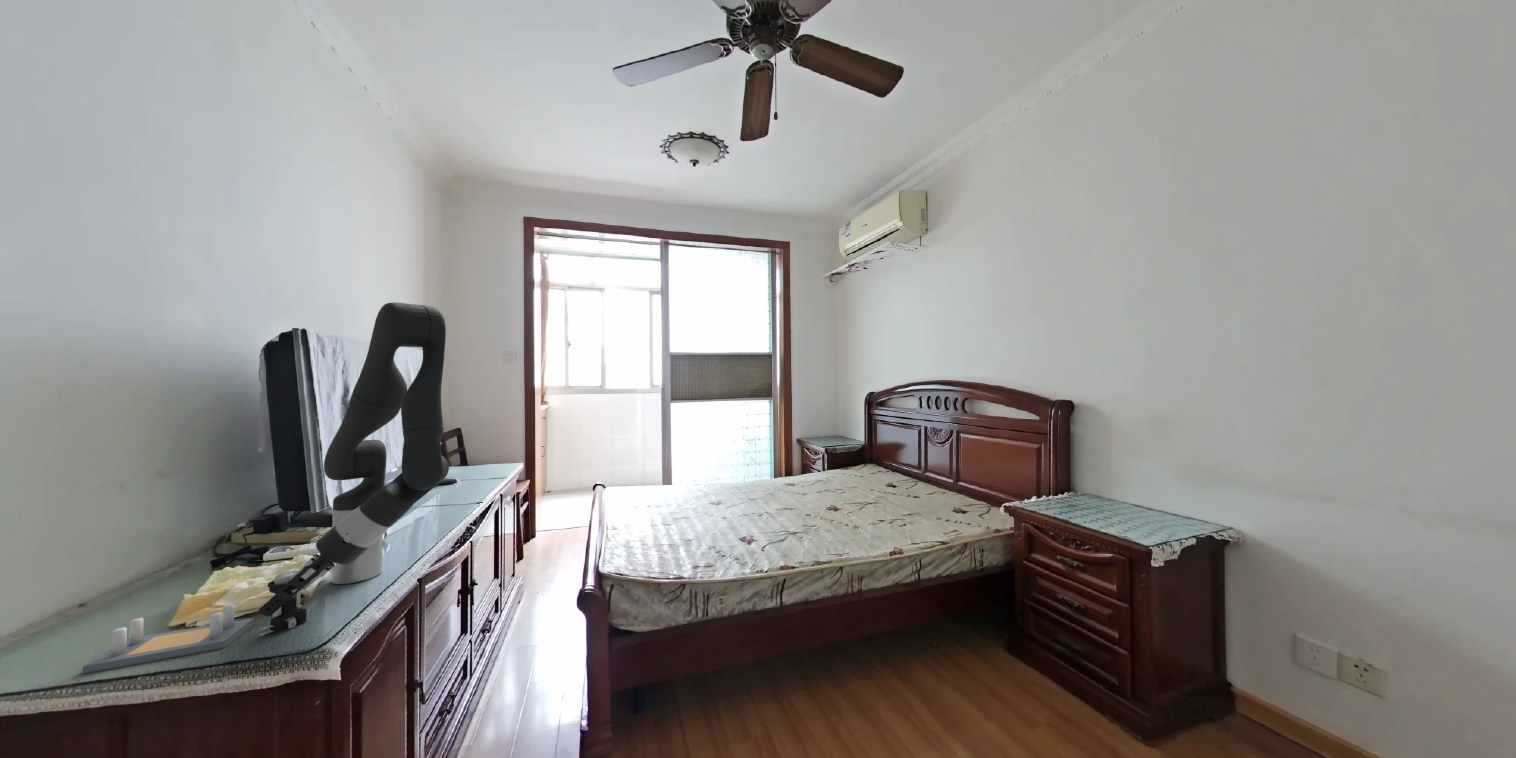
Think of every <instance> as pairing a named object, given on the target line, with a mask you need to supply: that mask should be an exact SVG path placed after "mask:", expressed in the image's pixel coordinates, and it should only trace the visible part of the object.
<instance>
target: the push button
mask: <svg viewBox="0 0 1516 758" xmlns="http://www.w3.org/2000/svg"><path fill="white" fill-rule="evenodd" d="M297 571H298V570H295V571H287V572H284V573H280V574H277V575H276V576H274V579H273V580H271V581H269V582H268V583H267V587H268V589H269V593H271V594H274V596H275V595H276V594H275V593H276V591H277V590H278V589H280V588H282V587H283V586H284V585H285V584H287V583H288V582H289V579H290V578H291V576H293V575H294V574H295V573H296V572H297ZM287 589H289V590H290V591H292V592H295V591H296V590H297V588H296V587H295V586H293V585H289V586H288V587H287ZM301 591H302V590H300V591H299V592H298V593H297V594H296V595H295V597H294V598H292V599H291V600H289V601H287V602H286V603H285V604H284V605H283V606H281V607H280V608H279V609H278V610H277V611H276V612H275V613H273V614H272V616H270V618H268V620H267V622H268V623H267V624H268V625H267V626H265V627H262V628H260V629H258V631H265V630H266V629H267V630H266V631H265V632H261V633H260V634H258V636H264V635H267V634H268V633H269V634H270V633H271V634H278V633H281V632H283V631H285V630H288V629H292V628H294V627H297V626H298V625H303V624H305V623H307V612H308V611H307V608H304V607H303V608H302V606H303V605H302V604H301Z"/></svg>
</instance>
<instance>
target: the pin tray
mask: <svg viewBox="0 0 1516 758" xmlns="http://www.w3.org/2000/svg"><path fill="white" fill-rule="evenodd" d="M235 605H236V604H235V603H230V604H226V605H224V606H222V611H221V612H220V611H219V612H214V613H213V614H210V618H209V619H210V620H209V625H205V626H204V625H203V626H199V627H191V628H187V629H186V628H185V629H180V630H179V629H177V630H173V631H167V632H162V633H155V634H148V635H144V621H145V620H144V617H139V618H134V619H132V620H130V621H129V638H128V639H127V634H128V633H127V631H128V627H125V626H124V627H119V628H116V629H113V630H112V631H111V633H112V634H111V648H110V649H109V650H107V651H105V652H104V653H103V654H101V655H99V656H97V657H95V658H94V659H93V660H91V661H89V662H87V663H85V664H84V665H83V666H82V674H89V673H94V672H99V671H105V670H111V669H115V668H116V669H117V668H121V667H126V666H133V665H136V664H137V665H138V664H144V663H149V662H154V661H160V660H164V659H165V660H166V659H172V658H176V657H177V658H178V657H181V656H187V655H192V654H193V655H194V654H198V653H199V654H200V653H203V652H204V653H205V652H209V651H215V650H220V649H224V648H226V647H228V646H229V645H230V644H232V642H233V641H235V640H236V639H237V638H239V636H241V635H242V634H243V633H245V632H246V631H247V630H249V629H250V628H251V627H252V626H253V625H254V617H251V618H246V619H240V620H235V607H236V606H235Z"/></svg>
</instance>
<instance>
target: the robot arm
mask: <svg viewBox="0 0 1516 758" xmlns="http://www.w3.org/2000/svg"><path fill="white" fill-rule="evenodd" d="M446 334H447V327H446V319H445V316H444V314H443V312H442V311H441V310H440V309H439V307H436V306H432V305H424V304H415V303H406V302H405V303H404V302H392V301H391V302H388V303H384V305H382V306H381V308H380V309H379V311H378V312H377V315H376V318H375V321H374V325H373V330H372V334H371V338H370V342H369V347H368V350H367V354H366V356H365V357H366V358H365V360H364V363H363V366H362V368H361V370H360V371H361V372H360V374H359V377H358V379H357V381H356V384H355V385H354V388H353V390H352V393H351V396H350V399H349V402H348V405H347V408H346V411H345V414H344V417H343V419H342V420H341V421H342V422H341V424H340V425H339V428H338V430H337V432H336V434H335V435H334V437H333V439H332V441H331V442H330V445H329V446H328V449H327V451H326V454H325V457H324V462H323V471H324V474H325V476H326V477H328V479H330V480H332V481H348V480H356V479H362V481H361V482H360V483H359V484H358V485H356V486H355V487H353V488H351V489H349V490H347V491H345V492H343V493H340V494H338V495H336V496H335V497H334V498H333V501H332V528H330V529H329V530H328V531H327V532H326V533H324V535H322V536H321V537H320V538H319V539H317V540H316V543H315V548H316V550H317V551H318V553H316V554H315V555H314V556H313V557H311V558H310V559H309V560H307V561H306V562H305V563H304V564H303V566H302V567H301V568H300V569H299V570H296V571H297V572H296V573H295V574H294V575H293V576H291V578H290V579H289V582H288V583H287V584H285V585H284V586H283V587H282V588H280V589H278V590H277V591H276V593H275V594H276V595H275V594H274V595H273V596H272V597H271V598H270V599H269V600H268V601H266V602H265V603H264V604H263V605H261V607H259V609H258V613H259V614H262V615H263V616H265V617H272V616H273V614H274V613H275V612H276V611H277V610H278V609H279V608H280V607H281V606H283V605H284V604H285V603H286V602H287V601H289V600H291V599H292V598H294V597H295V595H296V594H297V593H298V592H299V591H300V590H301V591H302V590H307V589H308V588H309V587H310V586H312V585H313V584H314V583H315V582H316V581H317V580H319V578H320V579H321V578H322V577H325V575H326V574H328V572H330V573H331V574H330V575H331V577H330V582H331V584H333V585H347V584H353V583H359V582H362V581H367V580H369V579H372V578H374V577H377V576H379V575H380V574H381V573H382V572H383V571H382V567H383V566H382V563H383V536H384V534H385V533H386V532H387V531H388V530H389V529H390V528H391V527H392V526H393V525H394V524H395V523H397V522H398V521H399V520H400V519H401V518H402V517H403V516H404V515H405V514H406V513H407V512H408V511H409V510H410V509H411V508H412V507H413V506H414V504H416V503H417V502H418V501H419V500H421V499H422V498H423V497H424V496H425V495H427V494H428V493H429V492H430V491H432V490H433V489H434V488H435V487H437V486H438V485H439V484H441V482H443V480H445V478H446V477H447V476H448V473H449V470H450V465H449V464H450V463H449V462H448V460H447V458H445V457H444V456H443V455H442V445H441V444H442V442H441V441H442V439H443V437H444V422H443V409H442V387H443V386H442V383H443V374H444V366H445V365H444V364H445V353H446V352H445V351H446V338H447V335H446ZM402 347H404V348H406V347H407V348H421V349H422V359H421V360H422V361H421V366H420V368H419V370H418V372H417V374H416V375H415V377H414V379H413V381H412V382H411V384H410V385H409V387H408V384H407V382H406V380H405V378H404V376H403V374H402V373H401V371H400V369H399V368H398V366H397V365H396V363H395V359H394V358H395V354H396V352H397V350H398V349H399V348H402ZM399 413H400V417H401V425H402V426H401V429H402V436H403V445H402V456H401V473H400V474H398V475H397V476H396V477H395V478H394V479H393V480H392V481H391V482H389V483H388V484H386V485H385V482H386V472H387V471H386V469H387V457H388V456H387V448H386V445H385V443H384V442H383V441H382V440H380V439H366V438H368V437H369V436H371V435H372V434H373V433H375V432H377V431H378V430H379V429H381V428H383V427H384V426H386V425H387V424H389V423H390V422H391V421H393V420H394V419H395V418H396V417H397V416H398V414H399ZM365 439H366V440H365ZM289 585H293V586H295V587H296V588H297V590H296V591H295V592H292V591H290V590H289V589H287V587H288V586H289Z"/></svg>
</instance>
